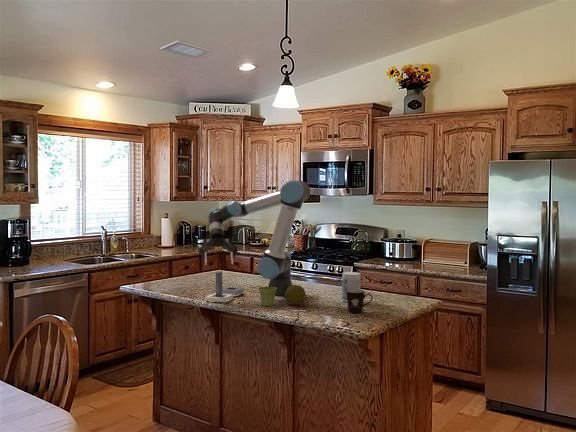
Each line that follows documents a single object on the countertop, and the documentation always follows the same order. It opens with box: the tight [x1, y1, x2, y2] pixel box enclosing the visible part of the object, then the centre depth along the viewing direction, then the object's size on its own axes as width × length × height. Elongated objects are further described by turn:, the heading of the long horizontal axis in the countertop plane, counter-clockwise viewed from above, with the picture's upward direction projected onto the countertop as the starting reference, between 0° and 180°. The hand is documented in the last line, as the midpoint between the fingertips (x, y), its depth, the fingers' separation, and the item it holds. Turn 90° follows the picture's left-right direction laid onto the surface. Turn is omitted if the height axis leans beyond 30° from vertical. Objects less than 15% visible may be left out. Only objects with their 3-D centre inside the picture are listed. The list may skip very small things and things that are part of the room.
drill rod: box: [215, 271, 223, 297], centre depth 272 cm, size 3×3×15 cm
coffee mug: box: [346, 289, 373, 315], centre depth 244 cm, size 12×9×10 cm
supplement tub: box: [341, 271, 362, 303], centre depth 270 cm, size 10×10×15 cm
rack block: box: [204, 292, 234, 302], centre depth 272 cm, size 11×11×2 cm
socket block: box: [222, 286, 245, 295], centre depth 287 cm, size 10×10×4 cm
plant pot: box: [257, 286, 277, 307], centre depth 261 cm, size 9×9×9 cm
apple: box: [284, 284, 306, 306], centre depth 261 cm, size 10×10×11 cm
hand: (219, 263), depth 269 cm, fingers open, 13 cm apart
